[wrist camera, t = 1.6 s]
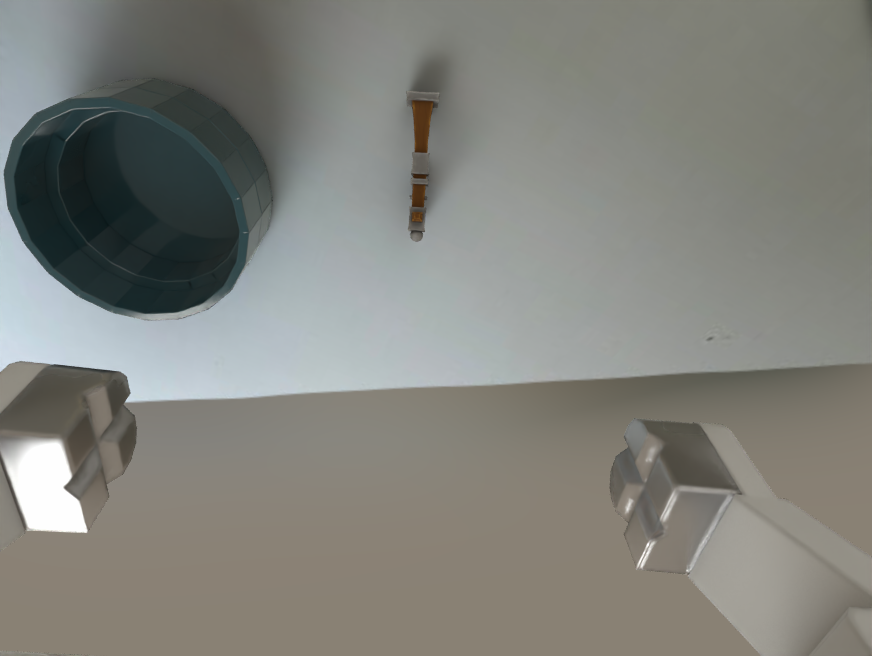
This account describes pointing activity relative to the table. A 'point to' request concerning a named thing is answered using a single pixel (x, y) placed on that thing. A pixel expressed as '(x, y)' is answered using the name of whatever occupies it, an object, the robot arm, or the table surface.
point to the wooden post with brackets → (420, 158)
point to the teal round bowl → (139, 197)
